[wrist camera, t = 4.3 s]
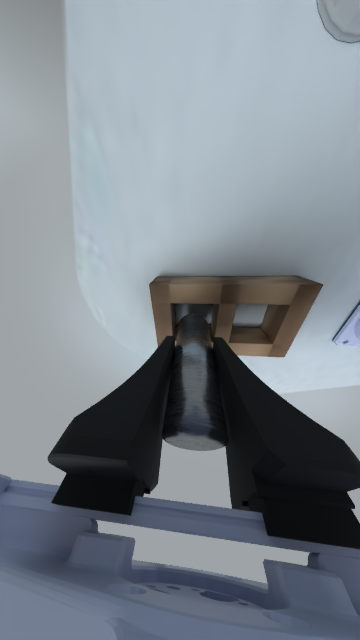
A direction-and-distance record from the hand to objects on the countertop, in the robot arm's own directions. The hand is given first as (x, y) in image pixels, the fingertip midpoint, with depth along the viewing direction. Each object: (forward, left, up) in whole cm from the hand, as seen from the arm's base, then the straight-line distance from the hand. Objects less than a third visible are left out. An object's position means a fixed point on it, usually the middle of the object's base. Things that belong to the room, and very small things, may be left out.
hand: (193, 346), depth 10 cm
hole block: (-3, 0, -6) cm, 7 cm away
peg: (0, 0, -3) cm, 4 cm away
